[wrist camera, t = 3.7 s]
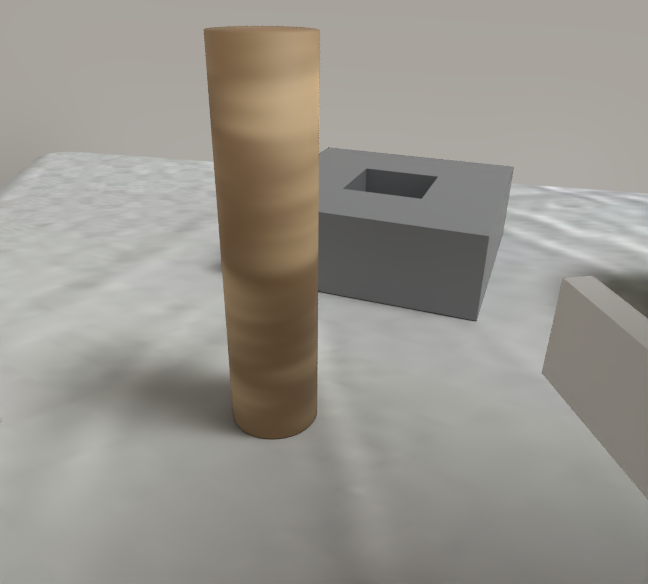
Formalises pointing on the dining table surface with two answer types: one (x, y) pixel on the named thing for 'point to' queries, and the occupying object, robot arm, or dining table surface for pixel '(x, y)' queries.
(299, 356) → the oak dowel
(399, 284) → the socket block
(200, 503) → the dining table surface
